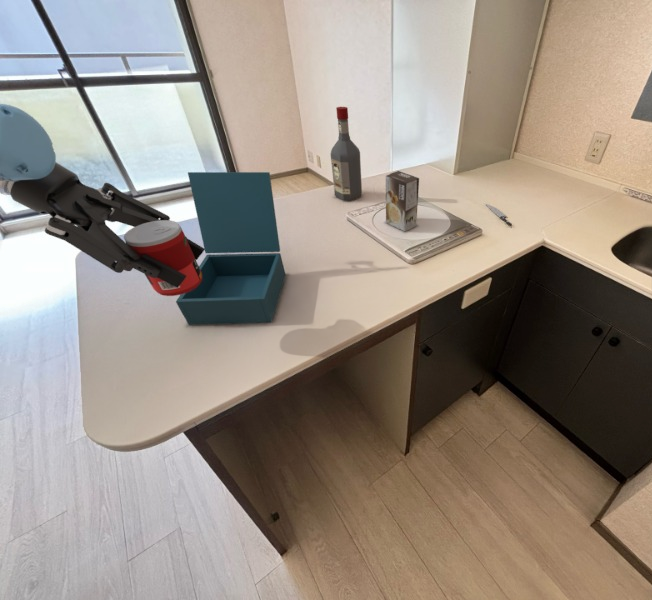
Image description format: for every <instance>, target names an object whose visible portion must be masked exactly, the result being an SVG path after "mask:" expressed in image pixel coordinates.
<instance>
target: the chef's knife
mask: <svg viewBox="0 0 652 600" xmlns="http://www.w3.org/2000/svg"><path fill="white" fill-rule="evenodd" d="M485 206H486V207H488V209H490V210H491V211H492V212H493V213H494V214H495V215H496V216H498V217H499V218H500V219H501V220H502V221H503V222H504V223H505V224H506V225H507V226H509V227H512V226H513V224H512V222H510V221H508V220H507V219H506V218H507V214H505V213H503V211H501V210H500V209H499V208H497V207H495V206H493V205H490V204H489V203H485Z"/></svg>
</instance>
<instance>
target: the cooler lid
mask: <svg viewBox="0 0 652 600" xmlns="http://www.w3.org/2000/svg"><path fill="white" fill-rule="evenodd" d="M187 175H188V181H189V184H190V189H191V194H192V198H193V203H194V208H195V212H196V217H197V221H198V226H199V230H200V235H201V239H202V244H203V248H204V249H205V250H204V252H205V254H247V253H280V252H281V245H280V239H279V232H278V225H277V217H276V210H275V202H274V195H273V188H272V181H271V173H270V172H269V171H214V172H213V171H187Z"/></svg>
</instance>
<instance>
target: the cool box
mask: <svg viewBox="0 0 652 600" xmlns="http://www.w3.org/2000/svg"><path fill="white" fill-rule="evenodd" d="M198 266H199V268H200V270H201V273H202V281H201V283H200V284H199V285H198V286H197V287H196V288H195V289H193V290H191V291H189V292H187V293H184V294H181V295H178V298H176V301H175V303H176V305H177V307H178V308H179V310H180V312H181V314H182V315H183V317H184V319H185V321H186V323H187V325H188V326H202V325H203V326H204V325H229V324H231V325H233V324H255V323H272V321H273V319H274V315H275V312H276V309H277V306H278V302H279V299H280V296H281V292H282V290H283V289H282V288H283V286H284V282H285V279H286V277H287V274H286V271H285V267H284V263H283V258H282V254H281V253H280V252H264V253H216V254H205V257H204V258H203V260H202V261H201V262H200V264H199V265H198Z"/></svg>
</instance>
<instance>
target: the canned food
mask: <svg viewBox="0 0 652 600" xmlns="http://www.w3.org/2000/svg"><path fill="white" fill-rule="evenodd" d="M159 220H160V219H159ZM185 236H186V235H185V233H184V230H183V229H182V226H181V224H180V223H179V222H177V221H175V220H170V221H169V220H160V221H152V222H147V223H144V224H141V225H138V226H136V227H131V228H130V229H129V230H127V231H126V232H125V234H124V235H123V241H124V242H125V243H126V244H127V245H128V246H130V247H131V248H132V249H133V250H134V251H135V252H136V253H137V254H138V255H139V256H140V258H141V257H142V256H143V255H144V254H146V255H148V256H150V257H152V258H154V259H156V260H158V261H160V262H162V263H164V264H165V265H167V266H169V267H171V268H173V269H175V270H177V271H178V272H180V273H182V274H184V275H186V278H185V279H184V281H183V282H182V283H181V284H180V286H179V287H178V288H177V287H175V286H173V285H171V284H169V283H167V282H165V281H163V280H161V279H159V278H157V277H156V278H152V277H150V276H148V275H146V274H144V276H145V277H146V279H147V280H148V282H149V284H150V286H151V288H152V289H153V290H154V291H155V292H156V293H157V294H159V295H161V296H164V297H175V296H180V295H181V294H184V293H187V292H189V291H191V290H193V289H195V288H196V287H197V286H198V285H199V284H200V283H201V281H202V273H201V270H200V268H199V266H200V265H199V264H198V262H197V260H196V259H195V257H194V255H193V252H192V250H191V248H190V246H189V244H188V241H187V239H188V238H187V239H186V237H187V236H186V237H185Z"/></svg>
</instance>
